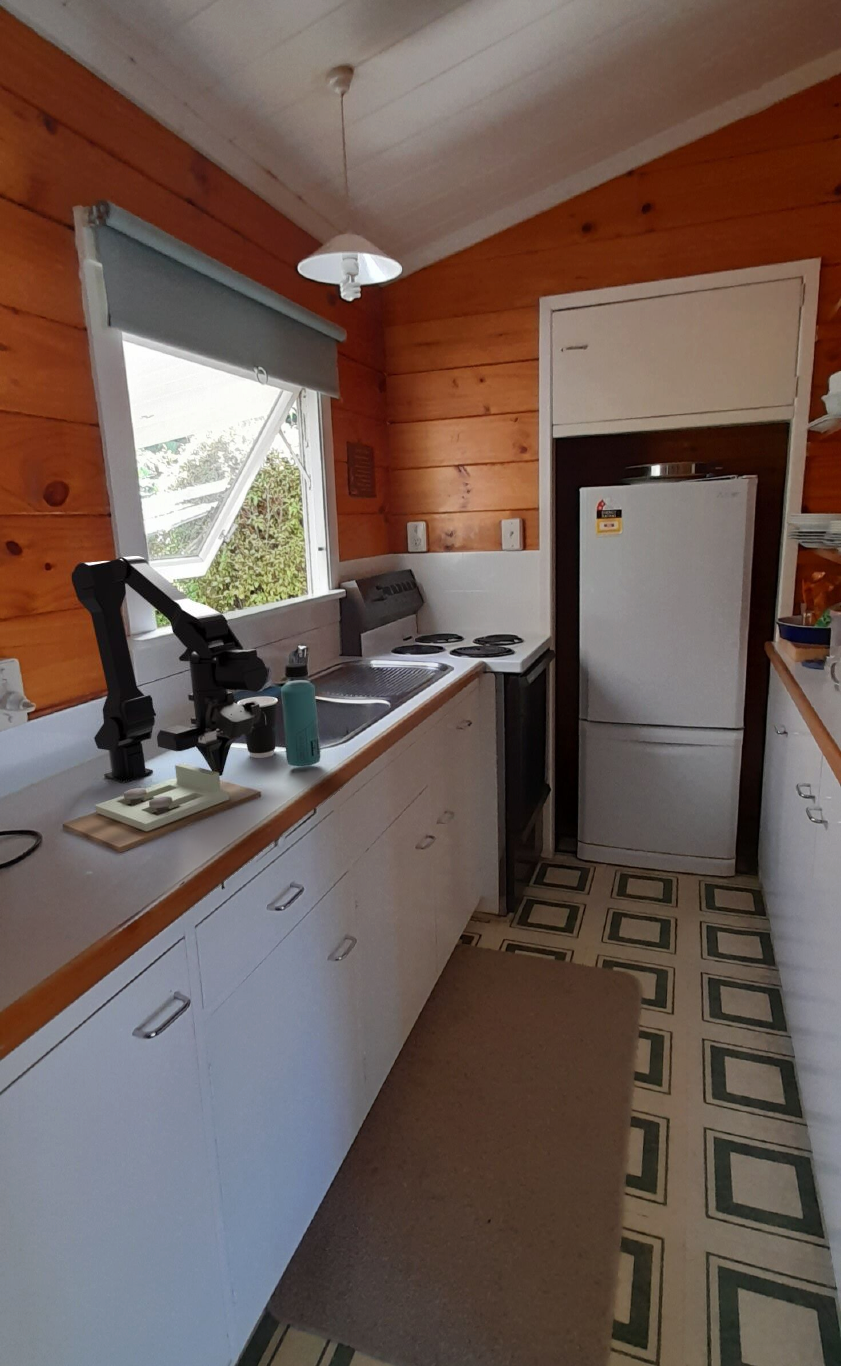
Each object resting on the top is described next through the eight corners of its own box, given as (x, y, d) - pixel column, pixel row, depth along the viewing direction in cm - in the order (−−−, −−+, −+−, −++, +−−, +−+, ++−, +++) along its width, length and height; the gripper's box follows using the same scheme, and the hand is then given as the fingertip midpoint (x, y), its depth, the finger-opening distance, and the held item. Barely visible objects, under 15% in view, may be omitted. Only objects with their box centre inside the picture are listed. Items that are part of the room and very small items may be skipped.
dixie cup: (289, 753, 148) (285, 700, 146) (255, 763, 143) (250, 708, 140) (268, 746, 154) (263, 694, 151) (234, 755, 148) (229, 702, 146)
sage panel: (95, 812, 117) (92, 787, 116) (177, 783, 129) (175, 761, 128) (146, 831, 109) (143, 804, 108) (229, 799, 121) (226, 774, 120)
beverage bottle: (315, 775, 134) (307, 667, 130) (280, 773, 136) (272, 667, 132) (326, 763, 141) (319, 660, 136) (293, 762, 142) (285, 660, 138)
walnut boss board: (62, 828, 114) (59, 806, 113) (202, 779, 134) (200, 760, 134) (120, 852, 105) (117, 828, 104) (261, 795, 125) (259, 775, 124)
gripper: (192, 705, 112) (203, 801, 115) (284, 681, 127) (290, 768, 130) (150, 697, 119) (160, 788, 122) (241, 675, 133) (248, 758, 136)
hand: (218, 775), depth 127 cm, fingers closed
